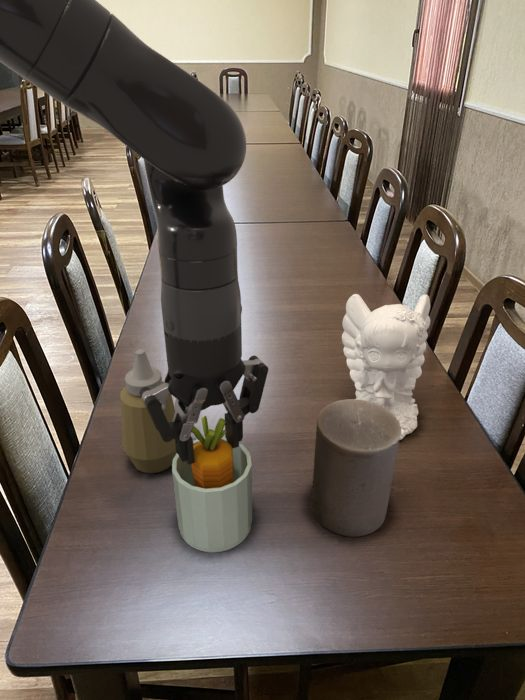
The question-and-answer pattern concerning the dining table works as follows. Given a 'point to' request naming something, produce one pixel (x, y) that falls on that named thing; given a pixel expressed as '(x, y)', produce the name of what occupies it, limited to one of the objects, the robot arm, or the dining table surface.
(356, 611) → the dining table surface
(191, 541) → the tumbler
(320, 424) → the pillar candle
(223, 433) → the carrot
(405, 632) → the dining table surface
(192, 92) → the robot arm
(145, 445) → the squeeze bottle
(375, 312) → the cherub figurine
